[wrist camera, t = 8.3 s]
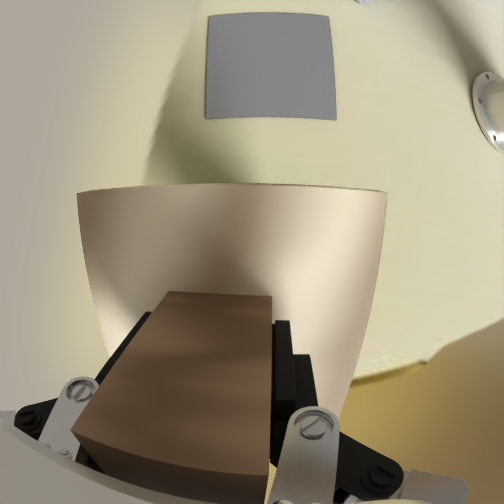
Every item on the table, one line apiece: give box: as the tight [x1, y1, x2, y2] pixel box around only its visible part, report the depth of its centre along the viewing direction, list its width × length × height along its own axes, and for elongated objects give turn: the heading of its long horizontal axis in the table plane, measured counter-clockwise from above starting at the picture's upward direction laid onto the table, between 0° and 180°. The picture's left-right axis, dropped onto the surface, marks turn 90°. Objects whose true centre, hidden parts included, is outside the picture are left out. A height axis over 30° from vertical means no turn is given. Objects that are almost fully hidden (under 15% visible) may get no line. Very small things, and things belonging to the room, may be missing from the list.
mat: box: [206, 13, 337, 120], centre depth 24 cm, size 14×14×1 cm
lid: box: [71, 183, 387, 504], centre depth 8 cm, size 12×12×8 cm
